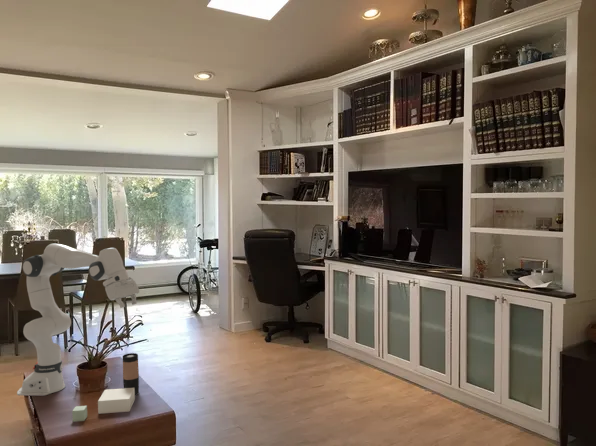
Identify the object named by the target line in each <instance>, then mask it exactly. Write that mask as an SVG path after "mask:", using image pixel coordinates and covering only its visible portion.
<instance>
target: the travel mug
mask: <svg viewBox="0 0 596 446" xmlns="http://www.w3.org/2000/svg"><path fill="white" fill-rule="evenodd" d="M122 383H123V385H122V386H123V388H134V390H135V396H137V395H138V394H139V393H140V391H139V389H140V387H139V385H140V374H139V355H138V353H137V352H136V353H134V352H130V353H126V354H123V355H122Z"/></svg>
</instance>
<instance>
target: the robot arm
mask: <svg viewBox="0 0 596 446" xmlns="http://www.w3.org/2000/svg"><path fill="white" fill-rule="evenodd" d="M21 267H22V271H23V274H24V275H25V276H26V289H27V294H28V299H29V303H30V307H31V308H32V310H35V311H37V312H39V313H40V315H41V316H42V317H38V318H35V319H32V320H30V321H29V322H27V323H25V325H24V326H23V329H22V330H23V331H22V332H23V336H24V338H25V339H27V340H28V341H30V342H31V343H32V344H33V345H34V347H35V350H36V357H37V359H36V360H37V361H36V363H35V364H34V365H33V367H32V370H33V372H31V373H29V374H28V376H26V377H25V378H24V380H23V381H22V384H21V385H22V386H21V387H19V389H18V390H17V392H16V395H17V396H38V397H39V396H41V397H42V396H44V397H45V396H47V395H51V394H52V393H58V392H60V391H61V390H63V389H65V387H66V384H65V381H64V377H63V361H62V355H61V354H62V351H61V346H60V345H59V344H57V343H55V342H54V341H53V336H57V335H60V334H63V333H64V332H66V331H67V330H69V329H70V327H71V326H72V319H71V317H70V315H69V314H67V312H66V313H65V312H64V311H62V310H61V309H60V308H59V306H58V304H57V302H56V300H55V298H54V295H53V290H52V285H51V282H50V277H51V276H54V277H55V276H56V275H58V274H59V273H62V271H64V270H65V269H69V270H70V269H71V270H72V269H80V268H87V267H88V274H89V276H90V279H92V280H94V281H102V280H104V281H103V282H102V285H103V287H104V289H105V293H106V296H107V297H108V299H109V300H110V301H115V302H116V303H117V304H118V305H119V307H120V308H121V309H122V308H125V307H126V304H125V302H123V300H122V298H124V299H125V298H128V297H129V298H131V301H130V303H131V305H133V306H134V305H137V295H139V293H140V289H139V287H138V285H137V283H136V281H135V280H134V278H132V277H131V276H130V277H129V275H128V272H127V269H126V268H125V263H124V261H123V258H122V256H121V254H120V252H119V251H118V249H117V248H116V247H108V248H104V249H101V250H100V251H99V254H94V253H89V252H86V251H83V250H80V249H78V248H74V247H71V246H69V245H65V244H63V243H62V244H61V243H50V244H48V245H47V246H46V247H45V249H44V250H43V253H42V254H35V255H32V256H30V257H28V258H25V259H24V260H23V261H22V265H21Z"/></svg>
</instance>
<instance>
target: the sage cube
mask: <svg viewBox="0 0 596 446" xmlns="http://www.w3.org/2000/svg"><path fill="white" fill-rule="evenodd" d="M71 412H72V415H71V416H72V422H73V423H74V422H85V421H86V419H87V418H88V405H76V406H75V407H74V408H73V409H72V411H71Z"/></svg>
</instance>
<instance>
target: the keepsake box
mask: <svg viewBox="0 0 596 446" xmlns="http://www.w3.org/2000/svg"><path fill="white" fill-rule="evenodd" d="M135 400H136V395H135V390H134V388H124V387H123V388H109V389H104V390H103V392H102V393H101V396H100V397H99V399H98V400H97V411H98V415H99V414H110V413H124V412H125V413H126V412H130V411H131V409H132V407H133V404H134V402H135Z"/></svg>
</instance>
